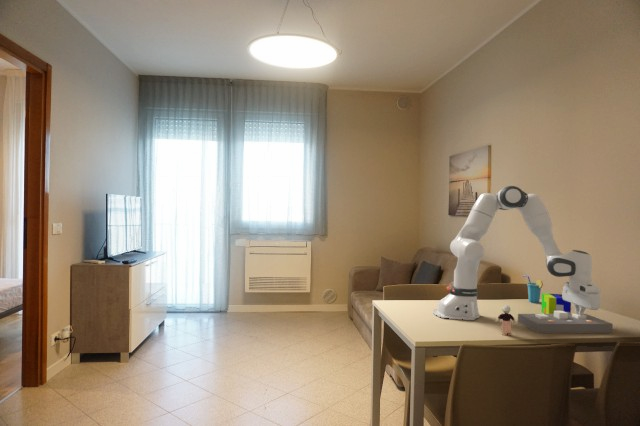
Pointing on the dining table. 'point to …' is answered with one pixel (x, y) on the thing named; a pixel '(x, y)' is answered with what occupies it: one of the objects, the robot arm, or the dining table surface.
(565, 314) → the button middle
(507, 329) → the grandmother figurine
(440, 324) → the dining table surface
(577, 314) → the button
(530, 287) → the cup
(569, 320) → the button board
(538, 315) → the button
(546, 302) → the puzzle toy
